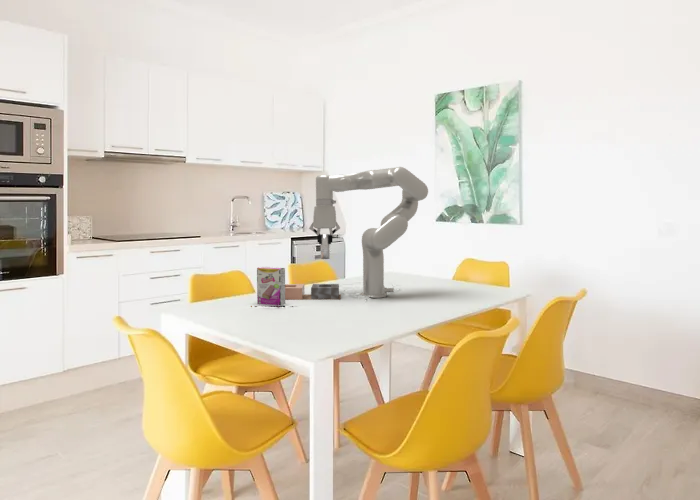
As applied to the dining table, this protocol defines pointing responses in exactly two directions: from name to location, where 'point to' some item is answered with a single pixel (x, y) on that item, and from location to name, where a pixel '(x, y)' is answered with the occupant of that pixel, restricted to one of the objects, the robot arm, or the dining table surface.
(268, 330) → the dining table surface
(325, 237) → the pin
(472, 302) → the dining table surface
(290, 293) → the socket block
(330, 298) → the mount board
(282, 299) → the candy bar box
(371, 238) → the robot arm
